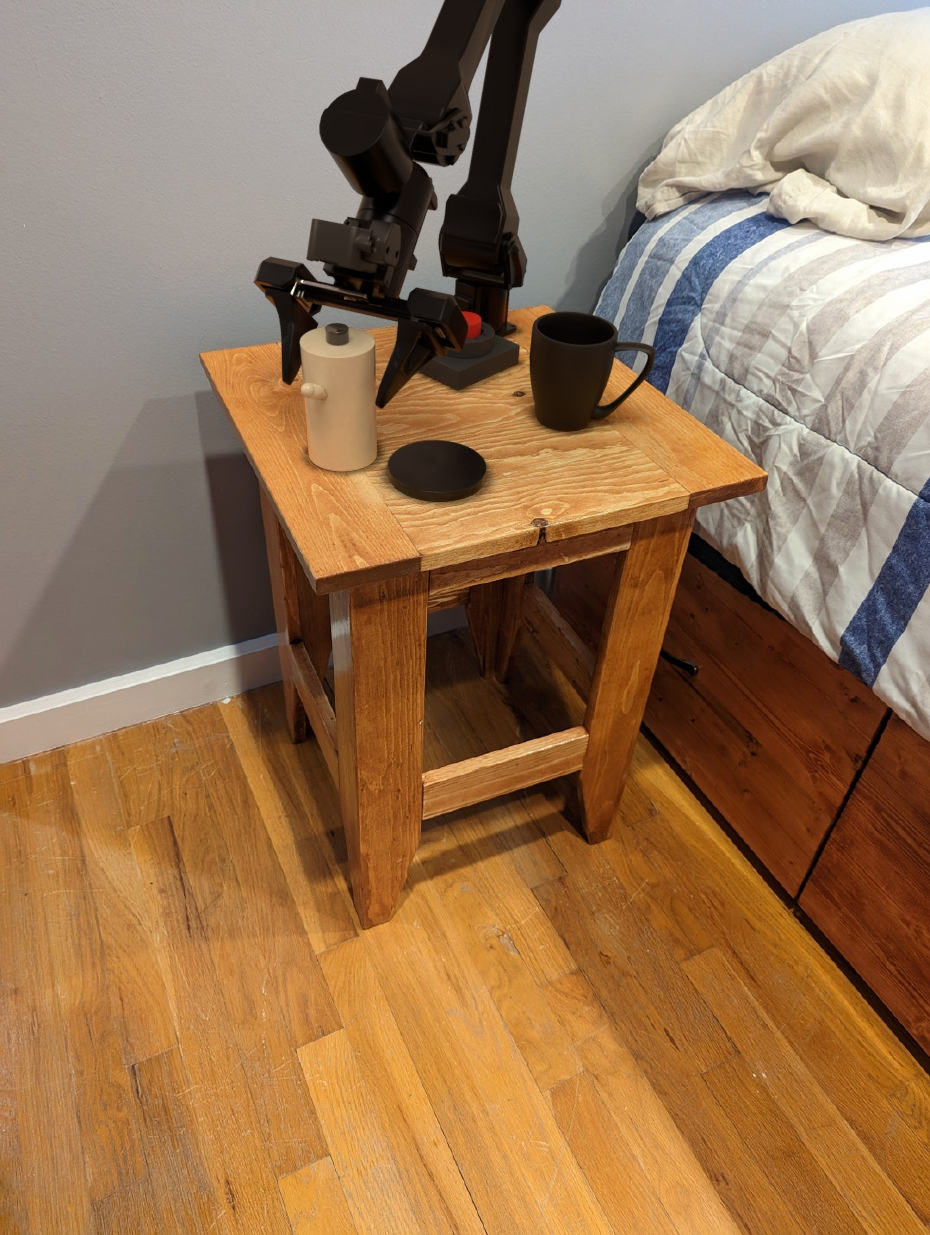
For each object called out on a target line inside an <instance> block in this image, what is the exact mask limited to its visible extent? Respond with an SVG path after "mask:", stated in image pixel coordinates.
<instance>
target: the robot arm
mask: <svg viewBox="0 0 930 1235" xmlns="http://www.w3.org/2000/svg"><path fill="white" fill-rule="evenodd" d="M562 1H563V0H443V2H442V5H441V7H440V10H439V12H438V15H437V16H436V19H435V22H434V24H433V25H432V28H431V31H430V34H429V36H428V38H427V41H426V43H425V45H424V47H423V49H422V51H421V52H420V54H419V55H418V56H417V57H416V58H414V59H413V60H411V61H409V63H407V64H405V65H404V66H402V67H401V68H400V69H399V70H398V71H397V72H396V74H395V75H394V78H393V80H392V81H391V83H390V85H389V86H388V88H387V86H386V85H385V83H384V80H383V79H379V78H378V79H377V78H374V77H373V78H372V77H367V76H359V78H358V81H357V83H356V86H355V88H354V89H353V88H352V89H350V90H348V91H346V92H343V93H342V94H340V95H339V96H337V97H336V98H335V99H334V100H332V102H330V104H329V105H328V106H327V107H326V108H325V109H323V111H322V113H321V116H320V120H319V124H318V130H319V131H318V134H319V136H320V140H321V142H322V144H323V146H324V147H325V149H326V150H327V152H328V153H329V155H330V156H331V158H332V160H333V161H334V163H335V164H336V166H337V168H338V169H339V170H340V172H341V173H342V176H344V178H345V179H346V181H347V183H348V184H349V185H350V187H351V189H352V190H353V191H355V193H356V194H358V195H360V196H362V197H361V200H360V203H359V206H358V209H357V212H356V215H355V217H351V216H347V217H346V219H345V220H344V221H343V223H340V222H335V221H330V220H325V219H320V218H312V219H311V223H310V231H309V236H308V237H309V238H308V243H307V244H308V245H307V252H306V257H305V259H306V261H309V262H320V263H324V264H323V267H322V271H323V272H324V273H325V275H326V276H327V277H329V278H333V280H334V281H333V283H331V282H330V283H329V282H325V281H320V280H318V279H317V278H316V277H315V275H314V274H313V273H312V272H311V271H310V270H309V268H308V267H307V266H306V265H305V264H304V263H303V262H298V261H294V260H289V259H284V258H280V257H279V258H278V257H274V256H268V257H266V258H265V259H263V260H262V261H261V262H260V263H259V265H258V267H257V270H256V273H255V276H254V279H253V284H254V285H255V286H256V287H257V288H258V289H259V290H260V291H261V292H262V293H263V294H264V297H265V299H266V300H267V301H269V302H270V304H271V305H272V306H273V307H274V308H275V310H276V313H277V316H278V321H279V328H280V345H281V347H280V348H281V350H280V351H281V380H282V382H283V383H284V384H285V385H286V386H291V385H292V384H293V383H294V380H295V379H296V377H297V376H298V375H299V372H300V370H301V368H302V364H301V351H300V339H301V337H302V336H303V335H304V334H305V333H307V332H309V331H311V330H314V329H317V328H319V322H318V321H317V320H316V319H315V318H314V316H316V315H317V314H319V313H320V312H321V311H322V308H323V306H324V307H329V308H333V309H337V310H342V311H346V312H350V313H356V314H360V315H365V316H369V317H373V318H377V319H383V320H387V321H391V322H397V326H396V337H395V344H394V346H393V349H392V351H391V354H390V356H389V360H388V362H387V364H386V368H385V370H384V373H383V375H382V378H381V381H380V383H379V386H378V390H377V392H376V401H375V405H376V408H378V409H380V410H381V409H382V410H383V409H384V408H385V407H386V406H387V405H388V404H389V403H390V401H392V399H393V398H394V397H395V396H396V395H397V394H398V393H399V392H400V391H401V390H402V389H403V388H404V386H406V385H407V384H408V382H410V380H411V379H412V378H413V377H414V376H415V375H417V374H418V373H419V371H420V370H421V369H422V368H423V367H424V366H425V365H427V364H428V363H429V362H430V361H431V360H432V359H434V358H435V357H437V356H439V357H445V356H446V354H447V350H446V349H449V350H453V351H462V350H463V347H464V344H465V341H466V338H467V335H468V323H467V321H466V319H465V317H464V315H463V313H462V312H472V313H475V314H477V315H479V316H480V317H481V321H482V322H485V323H487V324H489V325H491V327H492V328H493V329H494V331H495V335H498V336H500V337H502V338H503V337H504V336H507V335H509V334H511V333H514V332H516V331H517V330H518V329H517V328H518V327H517V325H516V324H514V323H511V322H509V321H508V317H509V306H510V293H511V291H512V289H516V288H522V287H523V286H524V282H525V281H524V280H525V275H526V273H527V265H528V258H527V255H526V252H525V249H524V247H523V245H522V242H521V240H520V237H519V229H520V228H519V227H520V219H521V218H520V216H519V212H518V209H517V206H516V203H515V199H514V197H513V196H514V195H513V193H512V190H511V189H512V182H513V178H514V172H515V167H516V161H517V157H518V151H519V145H520V140H521V135H522V129H523V123H524V118H525V111H526V107H527V102H528V96H529V91H530V86H531V80H532V76H533V69H534V64H535V59H536V53H537V48H538V44H539V43H538V42H539V38H540V34H541V33H542V31H543V30H544V29H545V27H546V26H547V25H548V23H549V22H550V21H551V19H552V18H553V17H554V16H555V15H556V13H557V12H558V11H559V9H560V8H561V5H562ZM488 43H489V48H488V53H487V60H486V65H485V72H484V78H483V84H482V90H481V95H480V102H479V108H478V113H477V120H476V125H475V132H474V139H473V144H472V150H471V157H470V161H469V162H470V163H469V168H468V174H467V178H466V181H465V182H464V184H463V185H462V186H461V187H460V189H459V190H458V191H457V192H456V193H450V194H449V195H448V197H447V199H446V201H445V206H444V215H443V216H444V217H443V221H442V224H441V227H440V229H439V234H438V238H437V245H438V246H437V247H438V252H439V253H438V254H439V261H440V266H441V268H440V269H441V274H442V275H441V276H442V277H443V278H444V277H445V278H453V279H454V280H455V282H454V294H451V293H446V292H441V291H436V290H431V289H427V288H422V287H418V286H416V287H414V288H413V289H412V290H411V291H409V293H408V296H407V299H403V298H401V297H400V295H401V292H402V289H403V286H404V283H405V281H406V277H407V275H408V271H413V272H414V271H415V269H416V266H417V264H418V259H417V257H416V255H415V254H414V253H415V250H416V247H417V245H418V241H419V238H420V235H421V231H422V229H423V225H424V223H425V219H426V216H427V214H428V211H433V212H435V211H437V210H438V207H439V203H438V201H439V198H438V195H437V193H436V191H435V186H434V183H433V178H432V177H431V176H429V173H428V171H427V170H426V169H425V168H424V167H423V165H421V164H425V165H430V166H436V167H442V168H446V167H447V168H448V167H450V166H451V167H453V166H454V165H456V163H457V162H458V161H459V159H460V157H461V155H462V154H464V152H465V150H466V148H467V145H468V142H469V141H470V138H471V124H472V121H473V112H472V111H473V110H472V107H471V101H470V96H469V93H470V89H471V86H472V83H473V80H474V78H475V75H476V73H477V70H478V69H479V65H480V63H481V61H482V58H483V55H484V53H485V51H486V48H487V46H488Z"/></svg>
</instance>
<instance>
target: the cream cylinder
mask: <svg viewBox="0 0 930 1235" xmlns="http://www.w3.org/2000/svg"><path fill="white" fill-rule="evenodd" d="M300 351H301V364H302V365H301V375H302V385H301V387H300V393H301V395H302V396H303V400H304V412H305V425H306V426H305V427H306V438H307V440H306V441H307V450H308V451H307V452H308V458H309V459H310V461H311V463H313V464H314V465H315V466H317V467H318V468H321V469H323V470H328V471H333V472H353V471H358V470H361V469H363V468H366V467H368V466H370V465H371V464H373V463H374V461H375V460H376V459H377V457H378V424H377V423H378V419H377V417H378V414H377V410H378V409H377V406H376V405H375V401H376V397H377V370H376V369H377V365H376V363H377V362H376V361H377V360H376V359H377V358H376V357H377V356H376V339H375V337H374V336H373V335H372V334H370V333H369V332H368V331H366V330H363V329H361V328H358V327H353V326H349V325H347V324H345V323H341V322H332V323H329V324H327V325H325V326H322V327H317V329H314V330H311V331H309V332H307V333H305V334H304V335H303V336H302V337H301V339H300Z"/></svg>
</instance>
